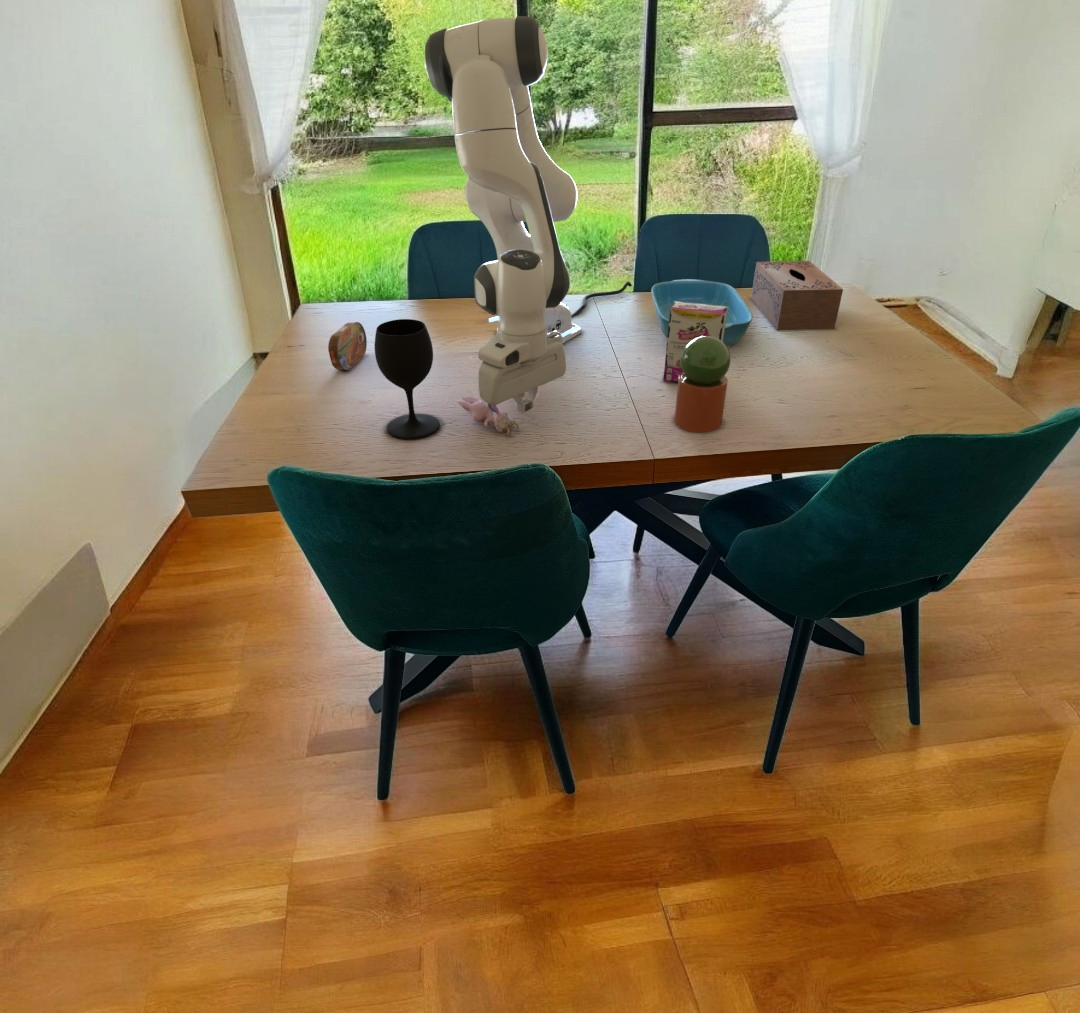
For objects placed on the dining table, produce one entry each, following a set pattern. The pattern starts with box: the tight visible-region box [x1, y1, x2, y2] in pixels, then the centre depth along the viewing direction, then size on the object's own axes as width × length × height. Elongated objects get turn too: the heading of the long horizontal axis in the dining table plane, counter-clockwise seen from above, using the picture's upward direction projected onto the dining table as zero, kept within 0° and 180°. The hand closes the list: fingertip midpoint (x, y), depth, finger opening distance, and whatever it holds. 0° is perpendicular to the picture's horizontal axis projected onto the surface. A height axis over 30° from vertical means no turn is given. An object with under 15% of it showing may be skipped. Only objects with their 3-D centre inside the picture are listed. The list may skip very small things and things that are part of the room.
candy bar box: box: [663, 301, 727, 384], centre depth 151 cm, size 11×5×16 cm, turn 71°
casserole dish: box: [651, 278, 754, 347], centre depth 181 cm, size 37×22×7 cm, turn 179°
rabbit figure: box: [455, 395, 520, 437], centre depth 139 cm, size 6×6×15 cm
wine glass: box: [374, 318, 441, 441], centre depth 134 cm, size 10×10×20 cm
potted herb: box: [674, 336, 731, 433], centre depth 135 cm, size 9×9×17 cm
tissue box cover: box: [750, 260, 844, 331], centre depth 188 cm, size 26×14×10 cm, turn 0°
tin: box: [327, 321, 368, 371], centre depth 165 cm, size 15×3×8 cm, turn 168°
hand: (525, 409), depth 142 cm, fingers closed
